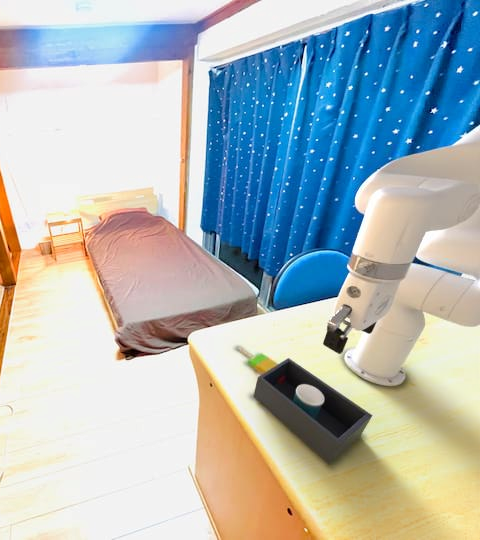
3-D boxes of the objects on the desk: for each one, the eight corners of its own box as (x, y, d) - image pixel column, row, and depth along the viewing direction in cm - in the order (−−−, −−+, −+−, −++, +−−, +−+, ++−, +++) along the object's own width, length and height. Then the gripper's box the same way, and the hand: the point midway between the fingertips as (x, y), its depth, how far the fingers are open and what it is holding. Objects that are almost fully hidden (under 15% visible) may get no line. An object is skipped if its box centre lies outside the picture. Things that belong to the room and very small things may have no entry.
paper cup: (299, 399, 70) (305, 380, 66) (321, 416, 65) (329, 397, 62) (284, 409, 68) (291, 390, 64) (307, 428, 63) (315, 409, 60)
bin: (282, 377, 76) (288, 357, 73) (360, 436, 61) (372, 415, 58) (253, 396, 72) (257, 376, 68) (329, 465, 57) (340, 444, 53)
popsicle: (232, 355, 86) (278, 388, 75) (231, 349, 85) (277, 382, 73) (244, 345, 88) (291, 375, 76) (243, 339, 86) (291, 369, 74)
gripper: (375, 291, 40) (341, 370, 49) (433, 256, 47) (394, 333, 55) (322, 270, 46) (300, 344, 55) (379, 242, 52) (351, 313, 61)
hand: (347, 338), depth 55 cm, fingers open, 9 cm apart
